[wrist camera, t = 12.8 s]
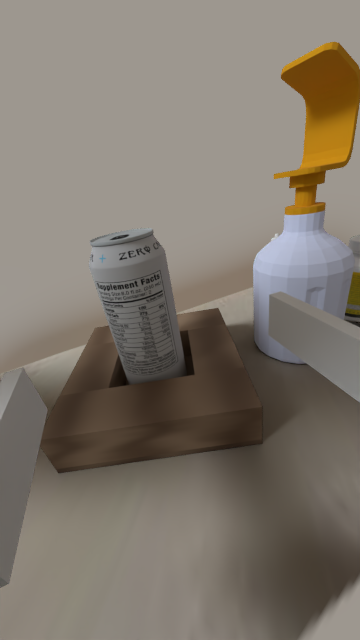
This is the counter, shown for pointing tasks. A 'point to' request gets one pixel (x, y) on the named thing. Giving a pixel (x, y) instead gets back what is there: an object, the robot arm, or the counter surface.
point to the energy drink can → (138, 304)
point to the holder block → (154, 403)
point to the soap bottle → (312, 197)
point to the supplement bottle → (354, 284)
